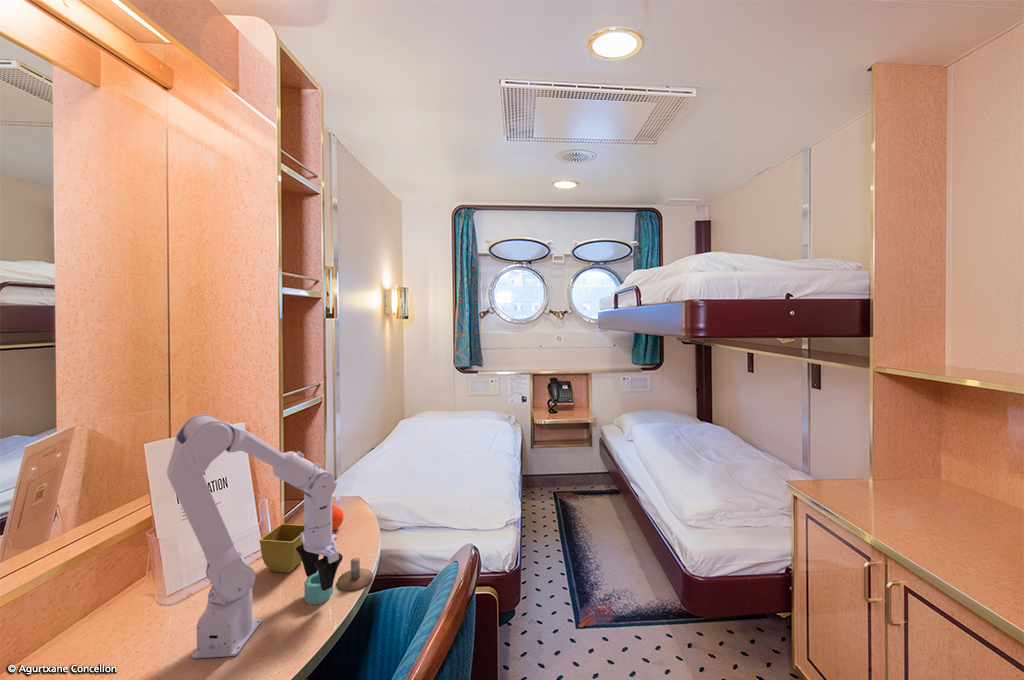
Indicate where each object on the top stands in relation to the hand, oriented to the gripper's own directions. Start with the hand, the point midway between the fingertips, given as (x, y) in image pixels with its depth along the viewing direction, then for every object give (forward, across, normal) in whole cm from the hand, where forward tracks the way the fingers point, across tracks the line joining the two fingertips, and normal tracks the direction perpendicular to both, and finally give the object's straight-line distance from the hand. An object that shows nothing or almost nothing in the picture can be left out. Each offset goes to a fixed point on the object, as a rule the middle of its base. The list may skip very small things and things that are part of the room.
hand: (319, 581), depth 95 cm
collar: (+3, 0, 0) cm, 3 cm away
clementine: (+4, +28, -16) cm, 33 cm away
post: (+3, -1, -8) cm, 9 cm away
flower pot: (+4, +18, 0) cm, 18 cm away
